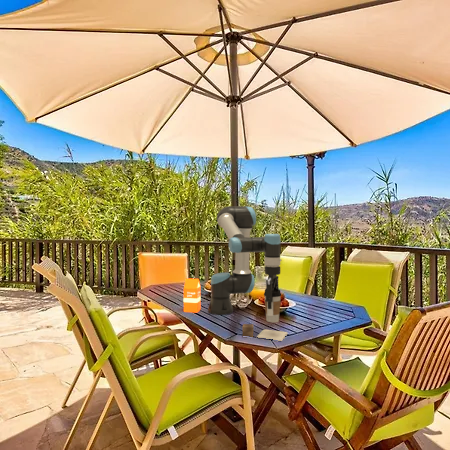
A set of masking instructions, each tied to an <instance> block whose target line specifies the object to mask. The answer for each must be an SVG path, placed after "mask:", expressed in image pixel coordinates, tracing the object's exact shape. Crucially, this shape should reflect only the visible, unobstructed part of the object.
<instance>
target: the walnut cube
mask: <svg viewBox="0 0 450 450" xmlns="http://www.w3.org/2000/svg"><path fill="white" fill-rule="evenodd" d="M254 325H255V324H253V323H243V325H242V328H241V329H242V337H243V336H250V337H253V338H254V335H253V334H254V331H255V330H254V328H255V327H254Z"/></svg>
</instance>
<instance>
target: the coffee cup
mask: <svg viewBox="0 0 450 450" xmlns="http://www.w3.org/2000/svg"><path fill="white" fill-rule="evenodd" d="M263 296H264V306H265V319H266V322H268V323H278V322H279V321H280V311H281V310H280V309H281V297H282V292H281V289H277V290H274V291H273V301H272V302H273V316H268V315H267V302H265V300H266V288H264V293H263Z"/></svg>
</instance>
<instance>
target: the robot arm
mask: <svg viewBox="0 0 450 450" xmlns="http://www.w3.org/2000/svg"><path fill="white" fill-rule="evenodd" d="M216 222H217V225H218V226H219V227H220V228H222V229H223V231H224V233H225V235H226V236H227V238H228V250H229V252H230V253H233V254H234V253H235V262H234V263H235V265H234V267H235V268H234V270H233V271H232V274H230V272H218V273H214V274H213V275H211V278H210V301H209V303H208V307H207V312H208V313H209V314H210V315H221V316H222V315H223V316H224V315H229V314H232V313H233V311H234V308H233V304H232V301H231V295H232V294H233V295H235V294H249V293H251V292H252V291H254V287H255V275H254V274H253V273H252V271H251V270H250V253H264V275H267V279H266V280H265V283H266V284H265V285H266V287H265V289H266V300H265V299H264V303H265V302H267V315H268V316H273V302H272V301H273V291H274V290H277V289H279V275H281V262H282V259H281V242H282V241H281V235H280V234H279V233H265V235H264V236H257V237H256V236H255V237H254V236H253V237H251V231H252V230H253V227H254V226H255V225H256V223H257V214H256V211H255V209H254V207H251V206H246V205H245V206H243V205H241V206H237V205H234V206H233V205H232V206H225V207H222V208H221V209H220V210H219V211H218V213H217V215H216ZM279 290H280V289H279Z"/></svg>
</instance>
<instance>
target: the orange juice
mask: <svg viewBox="0 0 450 450" xmlns="http://www.w3.org/2000/svg"><path fill="white" fill-rule="evenodd" d="M201 289H202V288H201V282H200V278H190V277H189V278H188V277H187V278H185V280H184V286H183V312H184V313H195V314H196V313H197V314H198V313H199V312H200V311H201V309H202V306H201V305H202V304H201V303H202V302H201V298H202V297H201V296H202V295H201V293H202V292H201Z"/></svg>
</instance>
